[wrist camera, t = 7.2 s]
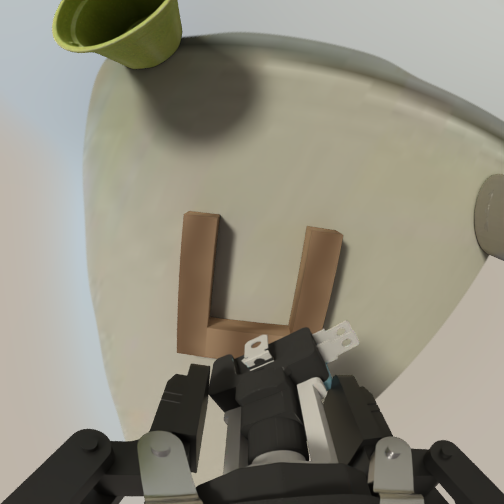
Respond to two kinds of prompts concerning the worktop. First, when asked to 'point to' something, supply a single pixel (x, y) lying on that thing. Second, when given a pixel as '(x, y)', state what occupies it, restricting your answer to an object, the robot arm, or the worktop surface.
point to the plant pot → (120, 29)
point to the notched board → (240, 332)
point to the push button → (282, 424)
